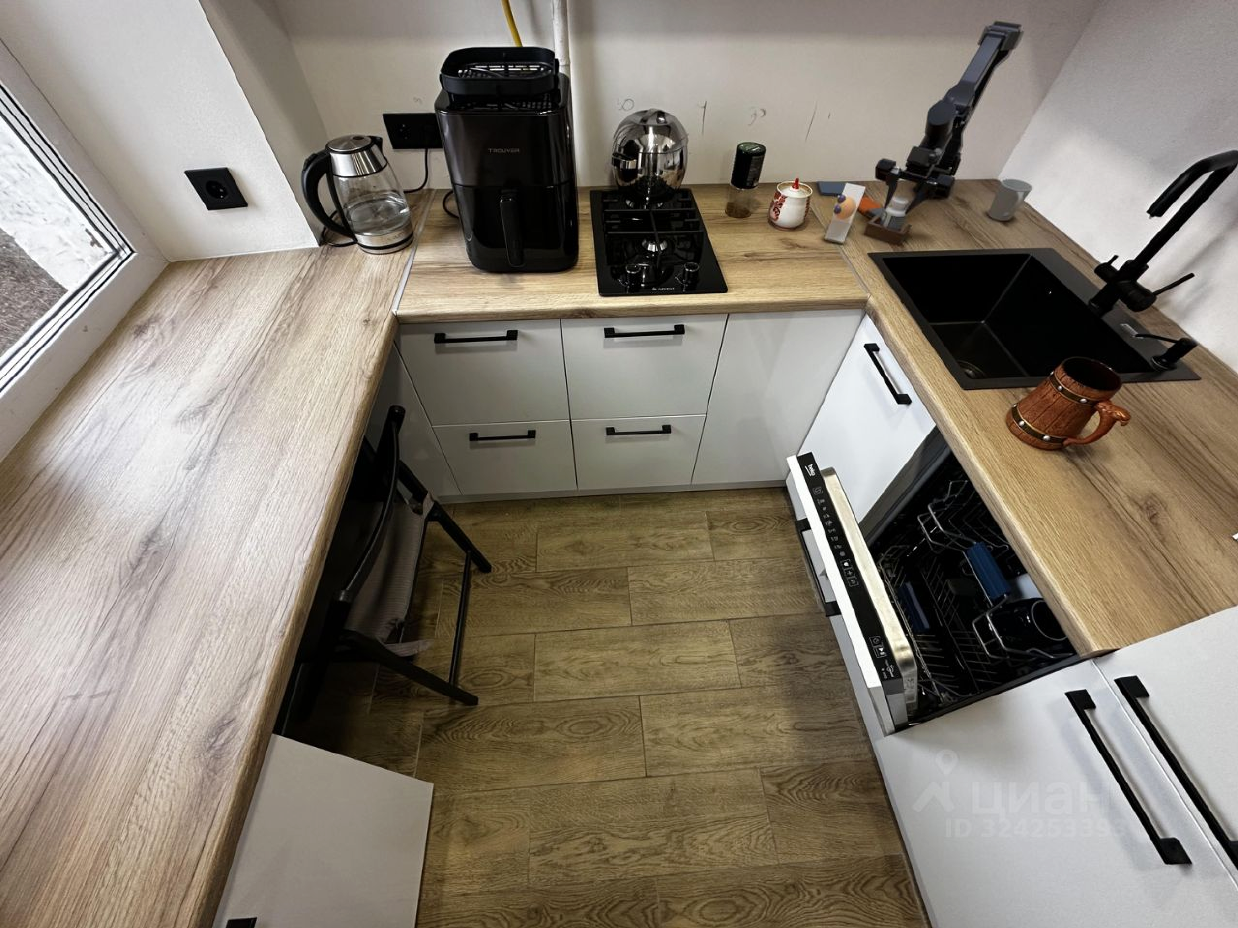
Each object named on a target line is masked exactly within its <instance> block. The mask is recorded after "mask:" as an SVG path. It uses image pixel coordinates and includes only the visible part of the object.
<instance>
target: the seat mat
mask: <svg viewBox="0 0 1238 928" xmlns="http://www.w3.org/2000/svg"><path fill="white" fill-rule="evenodd" d="M846 183H847V182H841V181H840V182H839V181H823V180H817V183H816V185H817V187H818V190H819V194H820V196H833V197H838V196H840V195H842V193H843V190H844V188H845V185H846ZM849 183H850V184H854V185H859V186H860V184H859V182H858V183H857V182H856V183H855V182H849ZM863 197H864V195H863V196H862V198H863Z"/></svg>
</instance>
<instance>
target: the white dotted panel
mask: <svg viewBox="0 0 1238 928" xmlns="http://www.w3.org/2000/svg"><path fill="white" fill-rule="evenodd" d="M845 183H846V185H845V188H844V190H843V193H842V195H840V196H837V199H836V202H835V204H834V207H833V209H832V218H831V220H830V223H829V226H828V228H827V231H826V233H825V235H824V240H825V241H829V242H833V243H838V244H842V245H844V243H845V240H846V238H847V235H848V233H849V231H850V229H851V226H852V224H853V221H854V219H855V216H856V214H857V211H858V210H857V209H858V206H859V203H860V201H861V198H862V196H863V197H864V193H865V191H866V187H867V186H863V185H860V184H859V185H854V184H850V183H851V182H845Z"/></svg>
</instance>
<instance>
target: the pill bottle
mask: <svg viewBox="0 0 1238 928" xmlns="http://www.w3.org/2000/svg"><path fill="white" fill-rule="evenodd" d="M909 203H910V200H909V199H908V198H907V197H905V196H900V195H899V196H898V195H895V196H893V197H892V199H891V201H890V204H889V205H888V206H887V208H886V210H885V212H884V214H883V217H882V219H881V222H880V224H879V223H878V225H881V226H884V227H888V228H891V229H894V230H897V231H900V232H901V228H902V226H903V224H904V221H905V220H906V217H907V215H905V212H906V210H907V208H908V207H909Z"/></svg>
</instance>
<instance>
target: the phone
mask: <svg viewBox="0 0 1238 928" xmlns="http://www.w3.org/2000/svg"><path fill="white" fill-rule="evenodd" d="M885 210H886V209H885V208H884V207H883V206H882V205H880V204H879V203H877V202H876V201H873V200H872V199H871V198H869V197H868V196H863V198H861V201H860V203H859V206H858V209H857V211H859V212H860V213H862V215H865V216H866V217H868V218H869V219H871V220H872V219H873V218H874V217H875V216H876V215H881V216H880V219H879V221H878V225H879V224H880V222H881V219H882V217H883V214H884V212H885Z"/></svg>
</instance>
